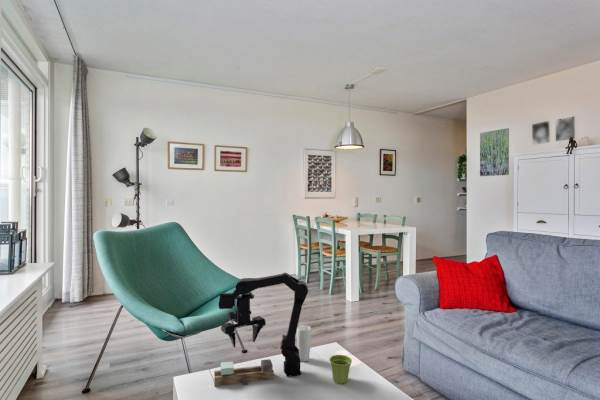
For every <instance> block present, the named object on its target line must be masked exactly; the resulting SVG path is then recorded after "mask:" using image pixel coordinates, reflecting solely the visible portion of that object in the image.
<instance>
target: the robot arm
mask: <svg viewBox="0 0 600 400" xmlns="http://www.w3.org/2000/svg"><path fill="white" fill-rule="evenodd" d="M282 284H283V285H285V286H287V287H288V288H289V289H290V290H291V291H293V292H294V293H293V294H294V297H293V305H292V309H291V314H290V319H289V323H288V328H287V331H286V334H282V338H281V339H282V340H281V342H280V346H279V349H280V350H281V352H280V353H281V355H282V356H283V357H284V361H283V373H284V374H285V376H286V377H294V376H301V375H302V372H301V361H300V357H299V349H298V347H297V345H296V336H297V327H298V326H299V321H300V316H301V313H302V308H303V304H304V302H305V301H306V298H307V296H308V293H309V288H308V287H309V286H308V284H307V283H306V282H305V281H304V280H303V281H302V280H299V279H298V278H296V277H294V276H292V275H291V274H289V273H287V272H282V273H279V274H273V275H268V276H264V277H260V278H252V277H244V278H240V279H239V280H238V282H237V283H236V284H235V289H233V291H232V292H220V294H219V299H218V310H233V309H234V307H236V310H235V313H234V311H230V312H228V314H227V319H228V320H229V321H231V320H232V322H234V324H233V323H231V322H227V323H226V322H225V323H222V324H221V326H220V331H221V332H222V333H223V334H225V335H227V336H228V337H229V339H230V342H231V344H232V347H233V348H236V332H235V331H236V329H241V328H244V327H249V326H252V342H253V343H255V342H256V341H257V337H258V335H259V334H260V331H261V330H262V329H263V328H264V326H266V322H267V321H266V318H264V317H262V316H260V315H259V316H253V317H252V318H251V315H252V311H251V300H254V298H255V295H254V293H252V292H253V291H256V290H257V289H261V288H266V287H267V288H268V287H270V286H272V287H273V286H276V285H277V286H278V285H282Z"/></svg>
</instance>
